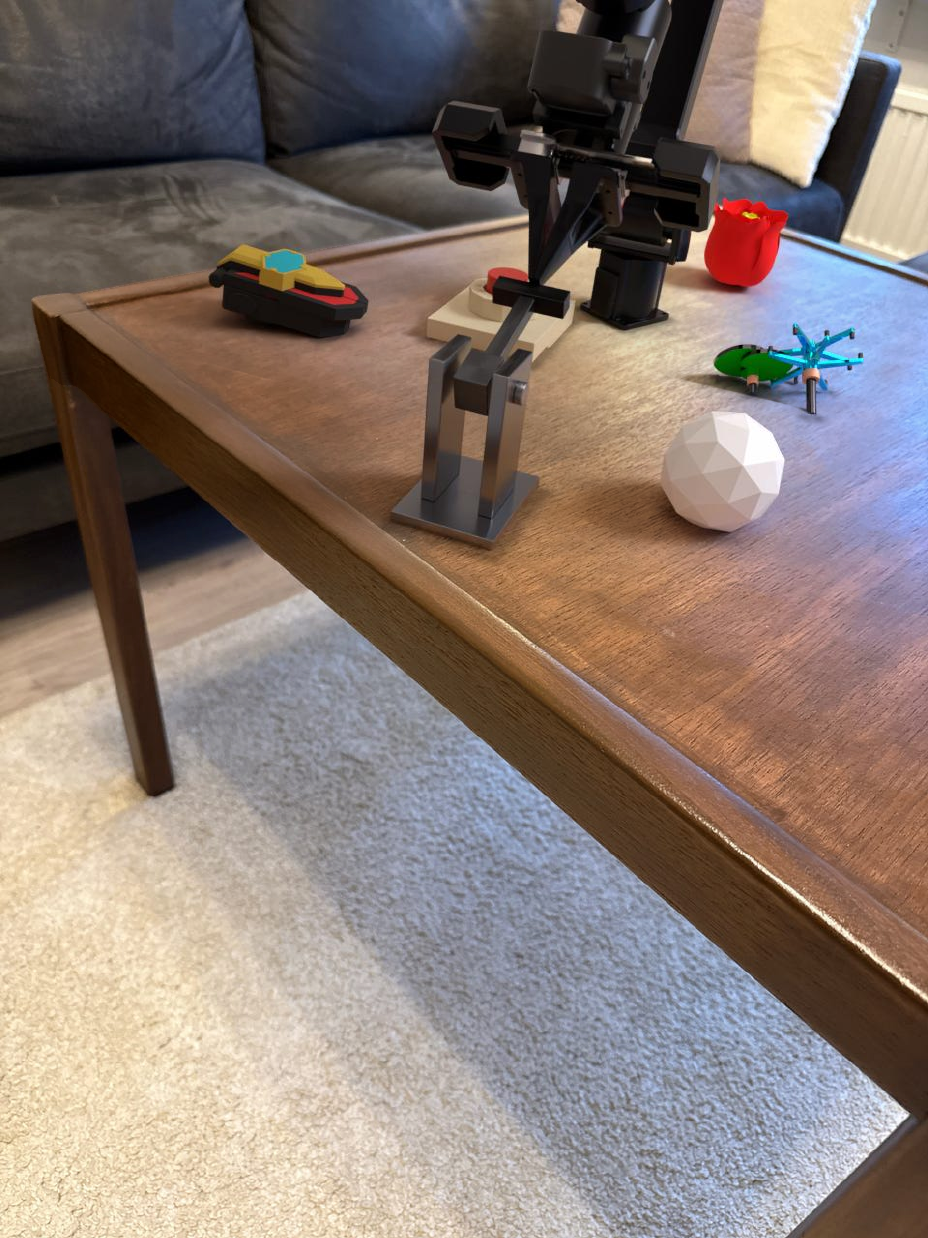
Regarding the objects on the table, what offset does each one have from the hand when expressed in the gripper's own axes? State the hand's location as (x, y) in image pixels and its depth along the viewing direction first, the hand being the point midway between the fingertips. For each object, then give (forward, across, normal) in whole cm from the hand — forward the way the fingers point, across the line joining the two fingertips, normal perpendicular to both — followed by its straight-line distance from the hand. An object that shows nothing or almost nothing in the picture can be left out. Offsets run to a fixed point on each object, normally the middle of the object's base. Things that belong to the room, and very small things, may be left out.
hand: (534, 282), depth 62 cm
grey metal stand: (+15, 0, +2) cm, 15 cm away
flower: (-25, +8, +43) cm, 50 cm away
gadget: (+1, -25, +17) cm, 31 cm away
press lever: (+6, 0, -1) cm, 6 cm away
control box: (-6, -9, +24) cm, 26 cm away
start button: (-8, -9, +21) cm, 24 cm away
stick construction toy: (-6, +17, +24) cm, 30 cm away
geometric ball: (+10, +15, +7) cm, 20 cm away
